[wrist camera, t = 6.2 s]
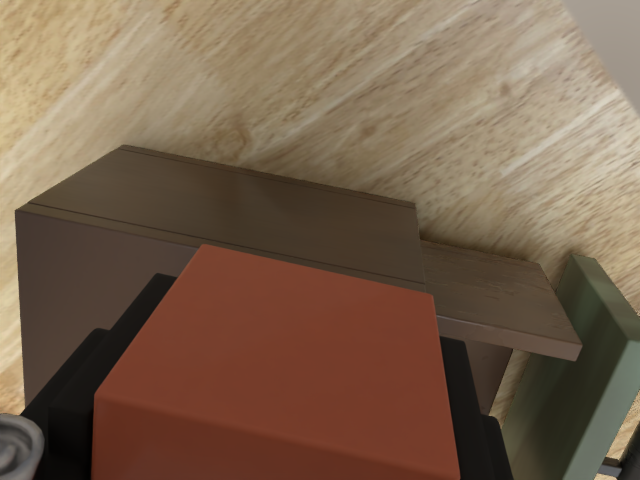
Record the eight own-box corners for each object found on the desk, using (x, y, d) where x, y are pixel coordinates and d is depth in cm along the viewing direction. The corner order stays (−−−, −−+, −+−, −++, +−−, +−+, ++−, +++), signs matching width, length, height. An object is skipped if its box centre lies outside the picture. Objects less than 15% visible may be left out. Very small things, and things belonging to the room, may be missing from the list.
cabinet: (415, 202, 28) (427, 294, 20) (363, 404, 33) (354, 544, 25) (122, 143, 28) (13, 210, 20) (116, 352, 34) (27, 473, 25)
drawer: (688, 276, 27) (785, 371, 20) (597, 456, 32) (652, 581, 25) (314, 201, 28) (290, 270, 21) (280, 389, 32) (252, 494, 26)
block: (201, 241, 11) (91, 392, 7) (434, 292, 11) (463, 477, 7) (179, 422, 13) (82, 628, 8) (379, 468, 12) (375, 696, 8)
